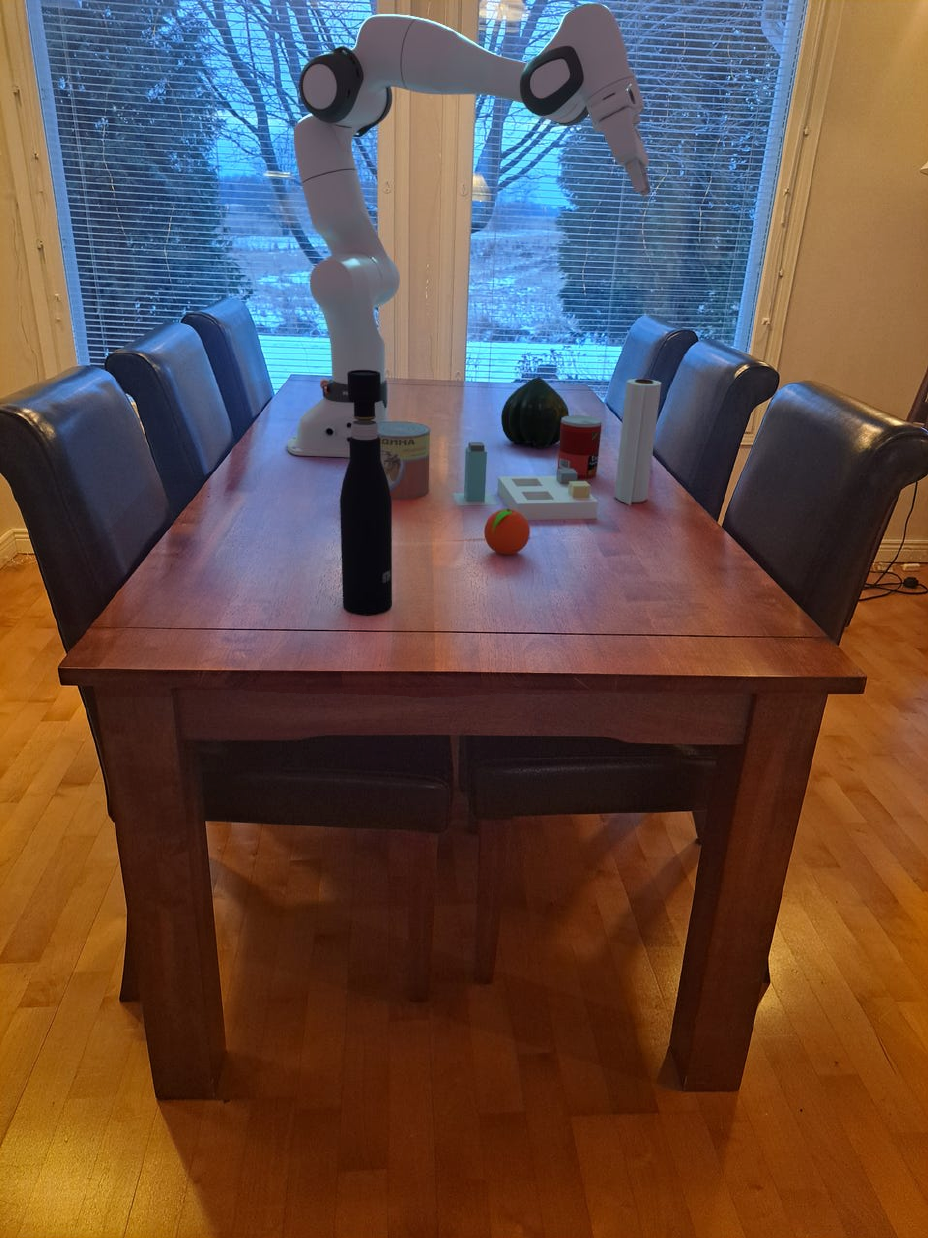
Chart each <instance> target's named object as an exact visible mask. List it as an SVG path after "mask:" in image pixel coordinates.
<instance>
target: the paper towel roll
mask: <svg viewBox="0 0 928 1238" xmlns="http://www.w3.org/2000/svg"><path fill="white" fill-rule="evenodd" d="M625 385H626V386H625V396H624V404H623V414H622V424H621V431H620V432H621V433H620V440H619V449H618V459H617V467H616V468H617V470H616V479H615V486H614V487H615V488H614V498H616V499H617V500H618V501H619V502H623V503H625V504H627V505H629V506H632V503H642V502H645V501H646V500H648V495H649V494H648V493H649V485H650V479H651V478H650V475H651V467H652V462H653V461H652V460H653V455H654V453H653V452H654V447H655V446H654V444H655V437H656V429H657V423H658V413H659V405H660V396H661V391H662V390H661V389H662V382H661V381H659V380H654V379H644V378H634V379H627V380H626V384H625Z"/></svg>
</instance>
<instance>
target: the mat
mask: <svg viewBox="0 0 928 1238" xmlns="http://www.w3.org/2000/svg"><path fill="white" fill-rule="evenodd" d="M451 495H452V497H453V498H454V500H455V503H456V504H457V506H460V507H461V506H497V505H498V504H497V502H496V500H495V499H494V497H493V496H492V494H491V493H490V492H485V502H467V501H466V499H465V497H464V492H462V493H458V492H457V493H452V494H451Z"/></svg>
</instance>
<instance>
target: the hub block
mask: <svg viewBox="0 0 928 1238" xmlns="http://www.w3.org/2000/svg"><path fill="white" fill-rule="evenodd" d="M577 475H578V473H577V472H576V471H575V470H574V469H557V468H556V475H521V476H519V475H512V476H504V475H503V476H502V475H501V476H500V475H499V476H497V486H496V487H497V489H496V490H497V491H496V493H497V494H498V495H499V498H501V500H502V501H503V503H504V504H505V506H506V507H507V509H512V510H515V511H517V512H519V513H520V514H522V515H523V516H524V517H525V519H526V520H527V521H543V520H545V521H546V520H547V521H548V520H587V519H597V515H598V506H599V502H598V500H597V499H596V498H595V497H594V496H593V495H592V494H591V489H592V488H591V487H592V486H591V484H589V483H588V482H587V481H586V480H578V479H577Z"/></svg>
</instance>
